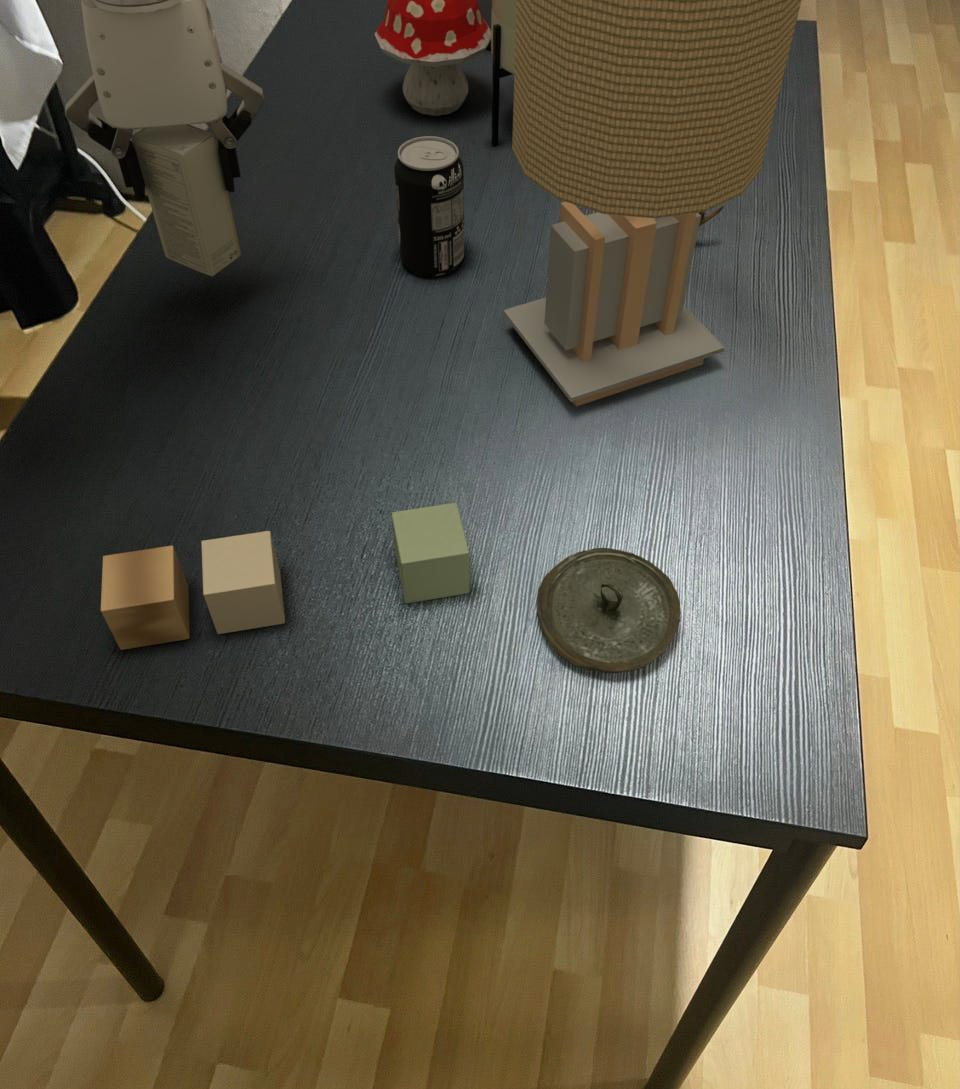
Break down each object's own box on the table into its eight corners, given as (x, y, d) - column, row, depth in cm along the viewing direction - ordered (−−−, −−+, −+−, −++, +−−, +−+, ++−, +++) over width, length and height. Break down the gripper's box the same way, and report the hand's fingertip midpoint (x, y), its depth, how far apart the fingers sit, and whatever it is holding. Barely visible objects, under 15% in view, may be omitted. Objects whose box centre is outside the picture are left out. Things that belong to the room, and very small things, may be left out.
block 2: (217, 634, 74) (203, 594, 70) (215, 581, 77) (201, 540, 73) (285, 623, 74) (275, 583, 70) (280, 571, 77) (270, 530, 73)
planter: (584, 178, 113) (605, -44, 95) (466, 139, 118) (464, -78, 100) (643, 120, 121) (672, -94, 103) (529, 86, 126) (539, -123, 108)
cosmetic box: (243, 256, 95) (219, 133, 85) (210, 279, 92) (183, 155, 83) (193, 235, 97) (165, 113, 87) (160, 257, 94) (128, 134, 85)
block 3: (405, 604, 75) (401, 563, 71) (395, 553, 78) (391, 511, 75) (469, 593, 76) (469, 552, 72) (457, 543, 79) (456, 502, 75)
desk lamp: (567, 446, 86) (610, 23, 59) (471, 316, 97) (470, -91, 70) (755, 382, 91) (875, -34, 64) (644, 265, 102) (706, -131, 75)
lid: (658, 578, 79) (660, 527, 76) (697, 664, 71) (701, 610, 68) (527, 598, 78) (524, 547, 75) (552, 687, 70) (549, 634, 67)
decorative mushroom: (358, 114, 122) (345, -17, 110) (417, 67, 129) (411, -61, 118) (456, 143, 117) (454, 10, 106) (511, 92, 125) (515, -37, 113)
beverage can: (403, 241, 105) (396, 132, 96) (465, 242, 105) (464, 134, 95) (398, 279, 101) (390, 170, 91) (462, 280, 101) (461, 171, 91)
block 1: (120, 650, 73) (100, 611, 69) (121, 596, 76) (102, 555, 72) (189, 639, 73) (174, 599, 69) (188, 585, 76) (173, 544, 72)
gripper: (249, -53, 79) (280, 158, 93) (20, -39, 76) (87, 175, 90) (255, -15, 74) (287, 201, 88) (11, 1, 72) (83, 221, 85)
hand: (185, 187), depth 89 cm, fingers closed on cosmetic box, 7 cm apart
